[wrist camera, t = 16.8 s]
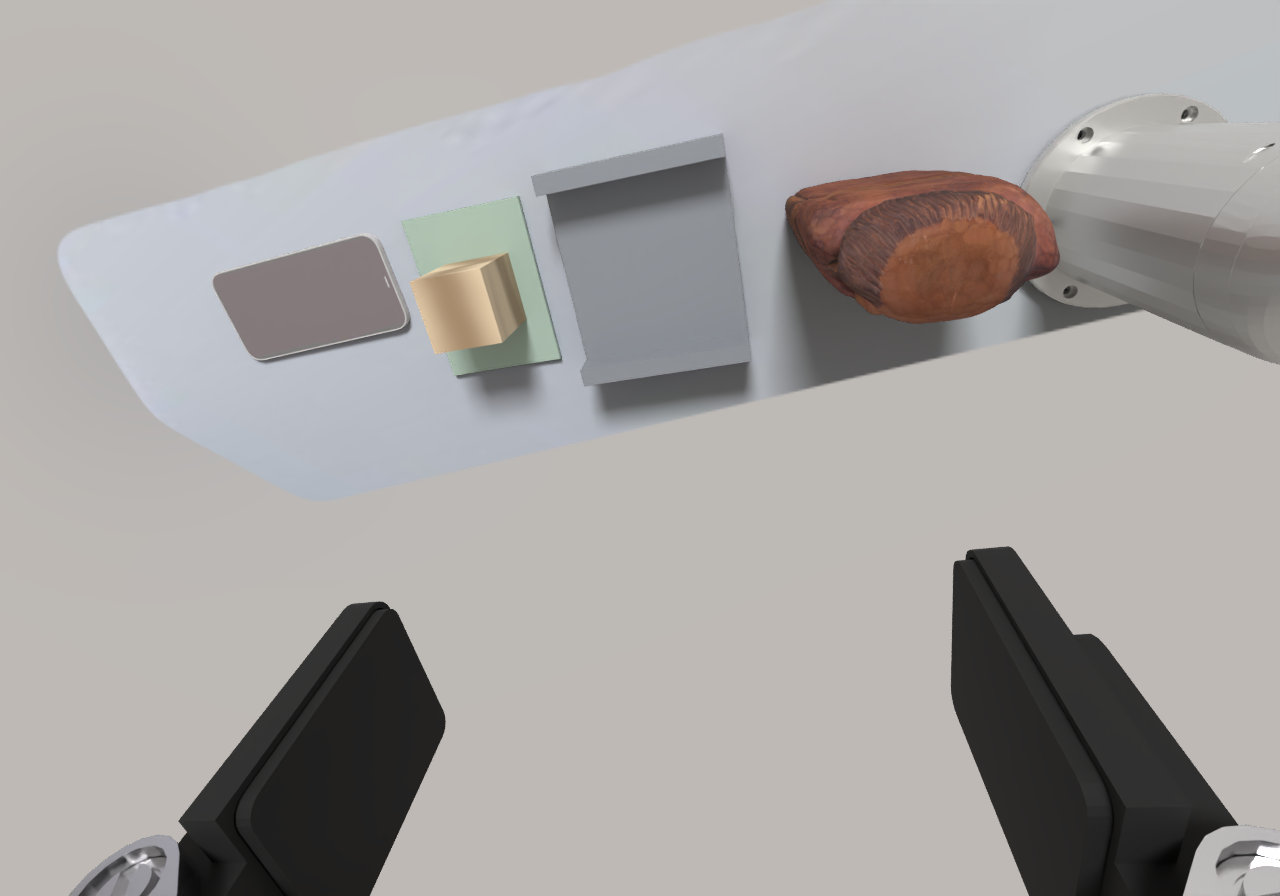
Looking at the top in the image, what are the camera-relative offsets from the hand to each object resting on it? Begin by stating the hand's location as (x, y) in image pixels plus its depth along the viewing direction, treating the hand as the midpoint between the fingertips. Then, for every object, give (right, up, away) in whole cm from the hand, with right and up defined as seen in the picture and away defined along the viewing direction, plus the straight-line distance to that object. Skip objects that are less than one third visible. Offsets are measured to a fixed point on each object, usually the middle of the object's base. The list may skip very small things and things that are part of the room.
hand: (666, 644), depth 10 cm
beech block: (-12, +15, +37) cm, 41 cm away
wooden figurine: (+15, +19, +32) cm, 40 cm away
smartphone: (-26, +15, +40) cm, 50 cm away
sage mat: (-12, +15, +37) cm, 42 cm away
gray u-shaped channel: (+1, +17, +35) cm, 39 cm away
